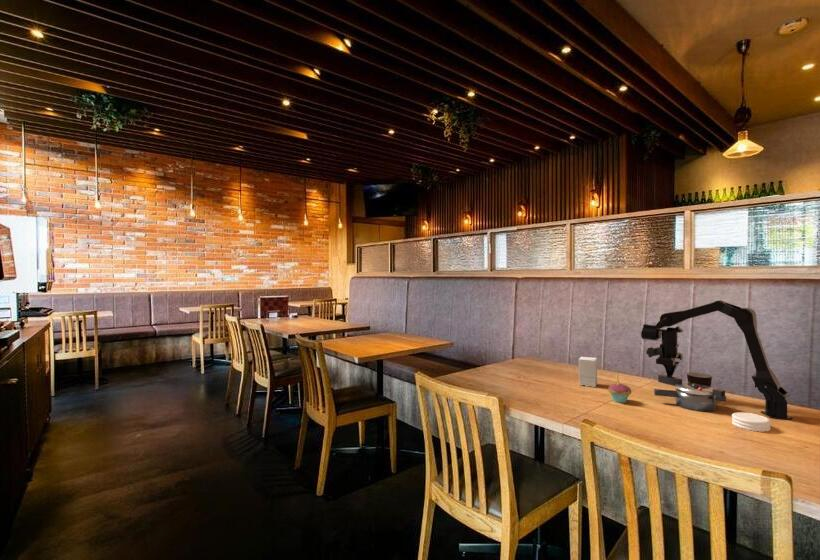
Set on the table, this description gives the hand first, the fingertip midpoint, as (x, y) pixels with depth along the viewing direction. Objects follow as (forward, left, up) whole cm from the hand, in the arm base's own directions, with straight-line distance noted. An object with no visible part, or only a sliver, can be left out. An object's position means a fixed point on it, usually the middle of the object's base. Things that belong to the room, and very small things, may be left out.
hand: (669, 378), depth 172 cm
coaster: (-33, -12, -8) cm, 36 cm away
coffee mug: (-1, -11, -8) cm, 13 cm away
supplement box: (+13, +30, -8) cm, 33 cm away
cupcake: (-11, +23, -8) cm, 27 cm away
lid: (-11, -3, -1) cm, 12 cm away
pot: (-13, -2, -8) cm, 15 cm away
